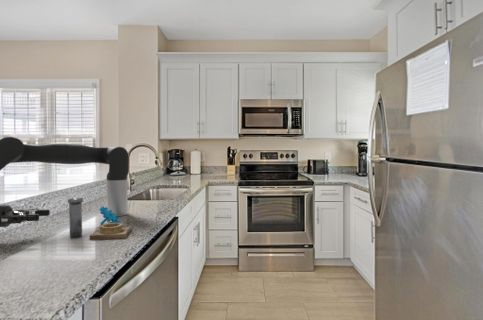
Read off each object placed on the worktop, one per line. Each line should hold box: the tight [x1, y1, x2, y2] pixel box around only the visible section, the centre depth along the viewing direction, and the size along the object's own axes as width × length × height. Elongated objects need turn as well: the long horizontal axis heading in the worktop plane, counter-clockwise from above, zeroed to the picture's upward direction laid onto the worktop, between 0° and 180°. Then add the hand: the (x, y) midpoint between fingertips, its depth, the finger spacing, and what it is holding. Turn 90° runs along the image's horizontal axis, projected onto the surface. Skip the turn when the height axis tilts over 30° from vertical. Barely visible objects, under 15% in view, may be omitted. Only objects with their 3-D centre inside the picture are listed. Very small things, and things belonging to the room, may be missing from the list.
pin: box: [67, 197, 84, 240], centre depth 113 cm, size 5×5×14 cm
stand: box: [89, 222, 132, 241], centre depth 117 cm, size 12×12×4 cm
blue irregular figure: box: [98, 206, 121, 225], centre depth 134 cm, size 11×6×10 cm
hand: (44, 214), depth 111 cm, fingers open, 8 cm apart
